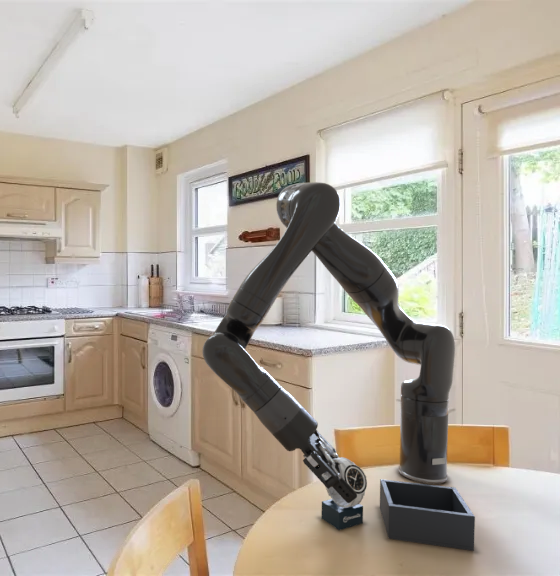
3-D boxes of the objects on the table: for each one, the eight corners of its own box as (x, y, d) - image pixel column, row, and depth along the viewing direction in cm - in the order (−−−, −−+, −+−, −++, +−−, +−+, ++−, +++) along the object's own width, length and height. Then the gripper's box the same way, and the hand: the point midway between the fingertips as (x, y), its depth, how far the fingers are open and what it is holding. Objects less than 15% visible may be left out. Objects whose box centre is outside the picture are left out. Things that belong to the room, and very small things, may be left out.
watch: (347, 536, 80) (348, 471, 80) (314, 513, 87) (315, 454, 87) (372, 528, 82) (373, 465, 82) (337, 507, 90) (338, 450, 89)
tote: (379, 508, 90) (380, 478, 89) (454, 517, 86) (455, 487, 86) (388, 538, 79) (389, 505, 79) (474, 551, 76) (474, 516, 76)
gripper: (299, 416, 79) (372, 494, 76) (301, 394, 93) (363, 460, 90) (266, 444, 81) (337, 521, 78) (273, 419, 95) (333, 484, 92)
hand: (351, 488), depth 84 cm, fingers closed on watch, 7 cm apart
